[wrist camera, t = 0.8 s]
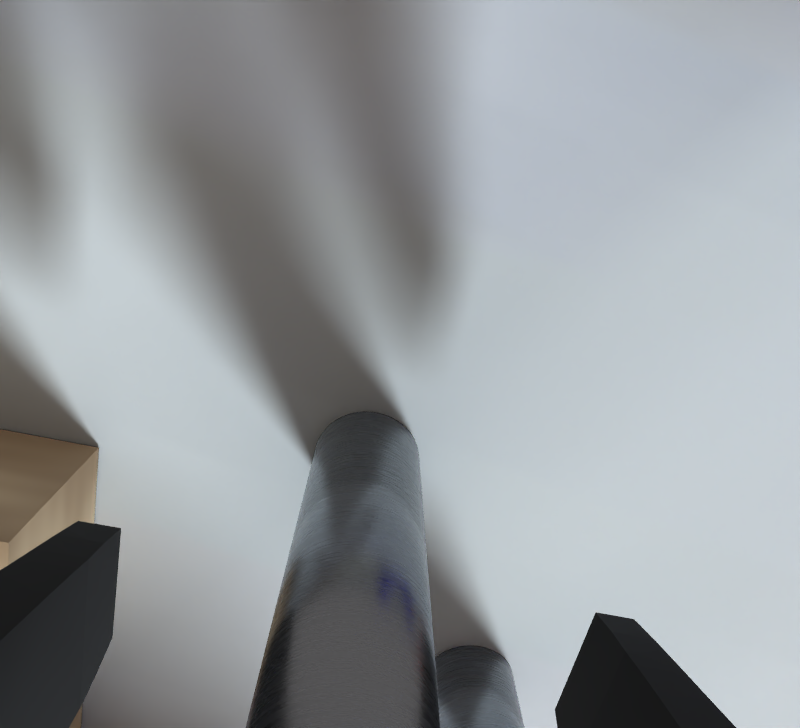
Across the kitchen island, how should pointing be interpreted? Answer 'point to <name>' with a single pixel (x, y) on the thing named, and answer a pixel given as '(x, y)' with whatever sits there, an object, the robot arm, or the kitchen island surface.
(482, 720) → the short pin
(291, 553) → the long pin
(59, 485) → the bore block
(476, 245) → the kitchen island surface
